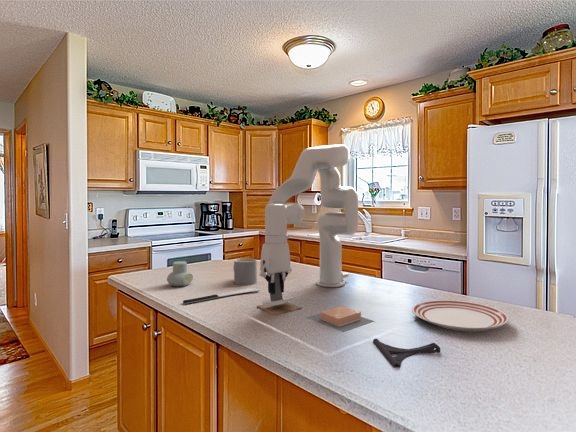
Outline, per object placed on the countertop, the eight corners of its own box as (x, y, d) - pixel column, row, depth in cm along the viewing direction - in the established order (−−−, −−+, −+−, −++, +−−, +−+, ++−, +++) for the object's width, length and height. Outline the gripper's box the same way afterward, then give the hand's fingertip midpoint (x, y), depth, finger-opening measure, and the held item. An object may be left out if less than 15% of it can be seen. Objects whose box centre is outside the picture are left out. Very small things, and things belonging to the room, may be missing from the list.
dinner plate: (409, 330, 108) (409, 319, 108) (413, 304, 134) (414, 295, 134) (517, 344, 98) (518, 332, 98) (500, 313, 124) (500, 303, 124)
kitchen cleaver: (248, 285, 158) (261, 287, 150) (249, 289, 158) (261, 292, 150) (176, 298, 140) (186, 301, 132) (177, 302, 140) (186, 306, 131)
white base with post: (262, 305, 126) (258, 273, 127) (285, 300, 132) (281, 269, 133) (272, 305, 121) (268, 271, 123) (296, 300, 127) (291, 268, 129)
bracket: (454, 367, 87) (454, 355, 87) (393, 370, 85) (393, 358, 85) (425, 342, 101) (425, 332, 101) (372, 345, 100) (372, 334, 99)
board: (281, 302, 135) (281, 300, 135) (301, 310, 126) (301, 307, 126) (256, 308, 128) (256, 305, 128) (275, 317, 120) (275, 314, 120)
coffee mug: (260, 283, 164) (260, 260, 164) (239, 286, 159) (239, 263, 159) (247, 277, 176) (247, 256, 175) (228, 279, 171) (227, 258, 170)
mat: (336, 310, 126) (336, 308, 126) (374, 323, 114) (374, 321, 114) (306, 319, 118) (306, 317, 118) (343, 333, 105) (343, 331, 105)
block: (342, 305, 122) (360, 312, 116) (341, 312, 122) (360, 319, 116) (319, 312, 116) (338, 318, 109) (319, 319, 116) (338, 326, 109)
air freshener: (180, 289, 155) (180, 265, 154) (164, 287, 158) (163, 264, 157) (195, 283, 165) (195, 260, 164) (180, 281, 168) (179, 259, 167)
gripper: (287, 237, 135) (287, 286, 136) (249, 240, 125) (250, 294, 126) (301, 239, 129) (301, 291, 130) (262, 242, 119) (262, 299, 120)
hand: (276, 292), depth 128 cm, fingers closed on white base with post, 3 cm apart
